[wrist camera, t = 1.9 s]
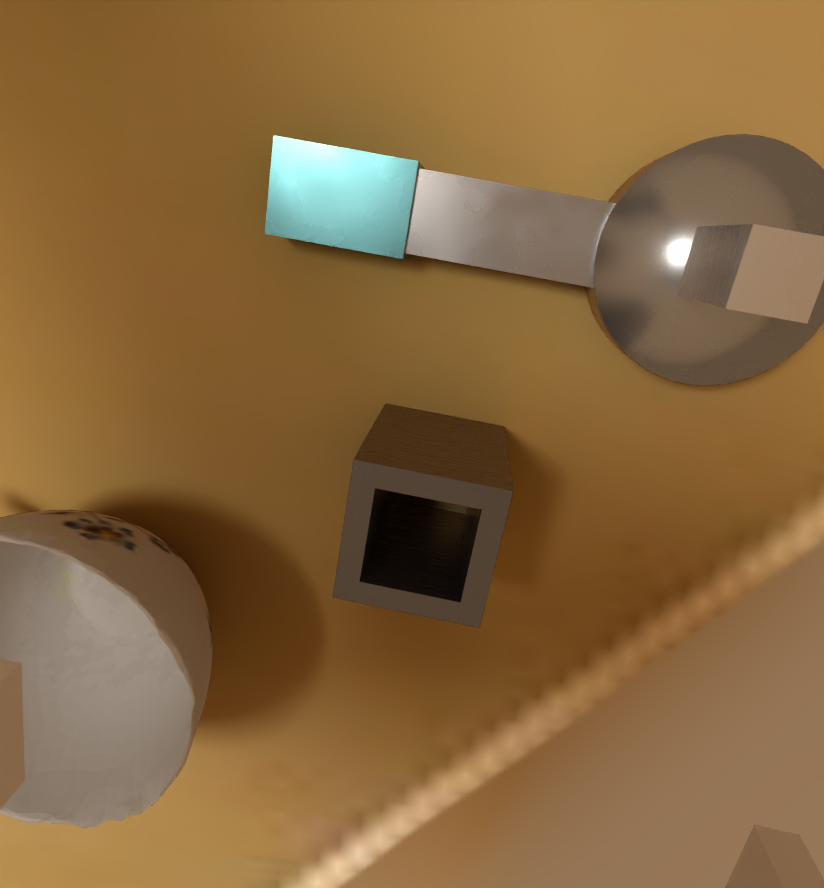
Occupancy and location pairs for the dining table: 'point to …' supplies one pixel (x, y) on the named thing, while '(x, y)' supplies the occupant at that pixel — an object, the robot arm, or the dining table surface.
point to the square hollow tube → (425, 516)
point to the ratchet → (602, 242)
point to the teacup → (100, 663)
